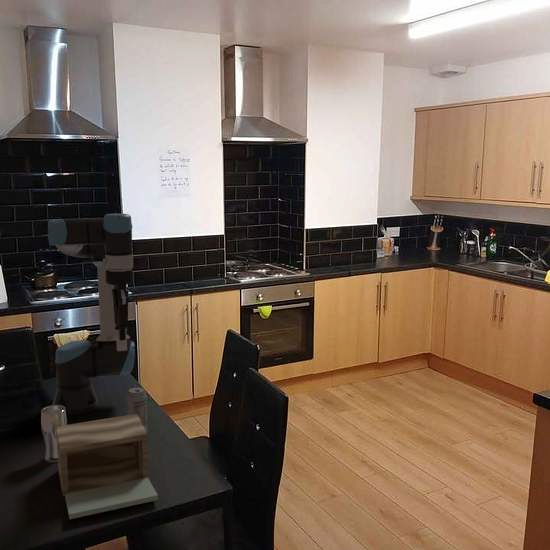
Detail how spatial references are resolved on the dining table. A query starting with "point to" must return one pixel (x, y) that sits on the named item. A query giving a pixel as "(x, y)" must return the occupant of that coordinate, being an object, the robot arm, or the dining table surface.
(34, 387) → the dining table surface
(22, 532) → the dining table surface
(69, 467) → the cabinet
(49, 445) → the beer glass
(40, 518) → the dining table surface
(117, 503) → the door
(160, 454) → the dining table surface
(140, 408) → the energy drink can
